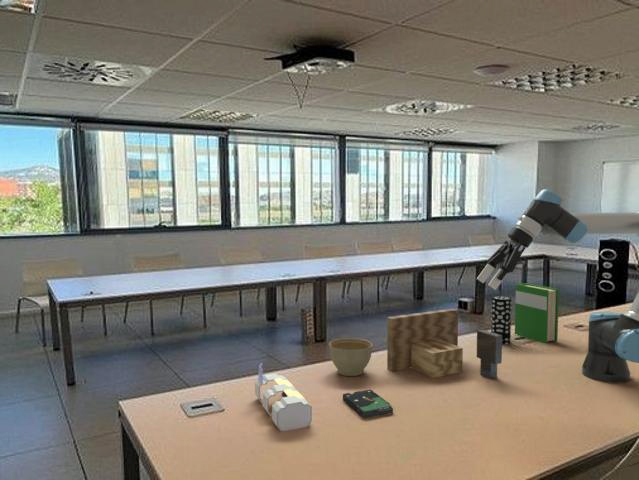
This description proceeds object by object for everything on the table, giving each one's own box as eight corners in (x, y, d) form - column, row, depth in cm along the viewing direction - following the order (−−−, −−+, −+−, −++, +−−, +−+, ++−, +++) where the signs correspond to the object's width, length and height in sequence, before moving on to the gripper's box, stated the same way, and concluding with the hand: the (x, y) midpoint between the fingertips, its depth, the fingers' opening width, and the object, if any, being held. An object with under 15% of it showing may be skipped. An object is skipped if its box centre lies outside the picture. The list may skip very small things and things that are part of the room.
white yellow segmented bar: (255, 399, 159) (254, 360, 158) (285, 394, 163) (285, 356, 162) (277, 433, 136) (276, 387, 135) (311, 426, 140) (311, 381, 139)
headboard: (452, 356, 201) (453, 308, 200) (480, 367, 187) (481, 316, 186) (387, 369, 187) (387, 317, 185) (412, 382, 173) (412, 326, 171)
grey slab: (482, 371, 183) (483, 329, 182) (501, 379, 175) (502, 335, 174) (476, 373, 182) (477, 330, 180) (495, 380, 174) (495, 336, 172)
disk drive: (342, 402, 158) (363, 420, 144) (341, 393, 158) (363, 411, 144) (370, 397, 162) (394, 414, 148) (370, 388, 162) (393, 405, 148)
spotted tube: (486, 340, 225) (487, 296, 223) (502, 338, 227) (503, 295, 226) (498, 345, 217) (499, 300, 215) (514, 343, 219) (515, 299, 218)
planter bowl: (380, 376, 179) (380, 347, 178) (339, 382, 173) (339, 352, 172) (360, 363, 194) (360, 335, 193) (322, 368, 188) (322, 340, 187)
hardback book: (557, 341, 221) (559, 289, 220) (545, 343, 218) (547, 290, 217) (526, 332, 237) (527, 283, 236) (514, 334, 234) (515, 284, 233)
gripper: (502, 224, 175) (467, 272, 177) (528, 227, 150) (487, 283, 152) (520, 236, 175) (484, 284, 177) (549, 241, 150) (507, 297, 152)
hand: (485, 284), depth 164 cm, fingers open, 13 cm apart
